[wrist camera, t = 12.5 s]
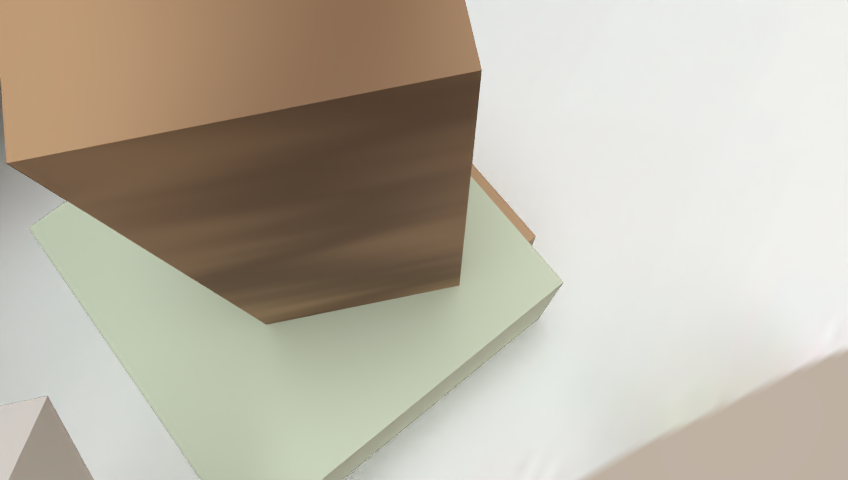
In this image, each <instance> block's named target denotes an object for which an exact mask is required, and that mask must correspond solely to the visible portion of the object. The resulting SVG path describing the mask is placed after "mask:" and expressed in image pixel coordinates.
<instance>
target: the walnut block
mask: <svg viewBox="0 0 848 480" xmlns="http://www.w3.org/2000/svg"><path fill="white" fill-rule="evenodd" d="M481 71H482V70H481V66H480V61H479V57H478V53H477V49H476V45H475V41H474V36H473V32H472V28H471V24H470V20H469V16H468V11H467V7H466V3H465V0H0V81H1V95H2V110H3V124H4V138H5V152H6V163H7V164H8V165H10V166H11V167H13V168H15V169H16V170H18V171H20V172H21V173H23V174H24V175H26V176H28V177H29V178H31V179H32V180H34V181H36V182H37V183H39V184H40V185H42V186H44V187H45V188H47V189H49V190H50V191H52V192H53V193H55V194H57V195H58V196H60V197H61V198H63V199H65V200H66V201H68V202H69V203H71V204H73V205H74V206H76V207H77V208H79V209H81V210H82V211H84V212H86V213H87V214H89V215H90V216H92V217H94V218H95V219H97V220H98V221H100V222H102V223H103V224H105V225H106V226H108V227H110V228H111V229H113V230H115V231H116V232H118V233H119V234H121V235H123V236H124V237H126V238H127V239H129V240H131V241H132V242H134V243H135V244H137V245H139V246H140V247H142V248H143V249H145V250H147V251H148V252H150V253H152V254H153V255H155V256H156V257H158V258H160V259H161V260H163V261H164V262H166V263H168V264H169V265H171V266H172V267H174V268H176V269H177V270H179V271H181V272H182V273H184V274H185V275H187V276H189V277H190V278H192V279H193V280H195V281H197V282H198V283H200V284H201V285H203V286H205V287H206V288H208V289H210V290H211V291H213V292H214V293H216V294H218V295H219V296H221V297H222V298H224V299H226V300H227V301H229V302H230V303H232V304H234V305H235V306H237V307H238V308H240V309H242V310H243V311H245V312H247V313H248V314H250V315H251V316H253V317H255V318H256V319H258V320H259V321H261V322H263V323H264V324H266V325H267V324H272V323H277V322H282V321H287V320H292V319H297V318H302V317H307V316H312V315H316V314H321V313H326V312H331V311H336V310H341V309H346V308H351V307H356V306H361V305H366V304H371V303H376V302H381V301H386V300H391V299H395V298H400V297H405V296H410V295H415V294H420V293H425V292H430V291H435V290H440V289H445V288H450V287H455V286H459V284H460V274H461V265H462V255H463V245H464V236H465V226H466V216H467V207H468V197H469V187H470V178H471V168H472V158H473V149H474V139H475V129H476V120H477V110H478V100H479V91H480V81H481Z"/></svg>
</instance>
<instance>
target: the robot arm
mask: <svg viewBox="0 0 848 480" xmlns="http://www.w3.org/2000/svg"><path fill="white" fill-rule="evenodd" d="M0 480H94V479H93V478H92V476H91V474H90V472H89V470H88V469H87V467H86V465H85V463H84V461H83V459H82V458H81V456H80V454H79V452H78V450H77V448H76V447H75V445H74V443H73V441H72V439H71V438H70V436H69V434H68V432H67V430H66V428H65V427H64V425H63V423H62V421H61V419H60V417H59V416H58V414H57V412H56V410H55V408H54V407H53V405H52V403H51V401H50V399H49V397H48V396H44V397H40V398H35V399H30V400H26V401H21V402H16V403H12V404H7V405H2V406H0Z"/></svg>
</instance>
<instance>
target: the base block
mask: <svg viewBox="0 0 848 480" xmlns="http://www.w3.org/2000/svg"><path fill="white" fill-rule="evenodd" d="M29 230H30V231H31V233H32V234H33V235H34V237H35V238H36V240H37V241H38V243H39V244H40V246H41V247H42V249H43V250H44V252H45V253H46V254H47V256H48V257H49V259H50V260H51V262H52V263H53V265H54V266H55V268H56V269H57V271H58V272H59V273H60V275H61V276H62V278H63V279H64V281H65V282H66V284H67V285H68V287H69V288H70V290H71V291H72V292H73V294H74V295H75V297H76V298H77V300H78V301H79V303H80V304H81V306H82V307H83V309H84V310H85V311H86V313H87V314H88V316H89V317H90V319H91V320H92V322H93V323H94V325H95V326H96V328H97V329H98V330H99V332H100V333H101V335H102V336H103V338H104V339H105V341H106V342H107V344H108V345H109V347H110V348H111V349H112V351H113V352H114V354H115V355H116V357H117V358H118V360H119V361H120V363H121V364H122V366H123V367H124V368H125V370H126V371H127V373H128V374H129V376H130V377H131V379H132V380H133V382H134V383H135V385H136V386H137V387H138V389H139V390H140V392H141V393H142V395H143V396H144V398H145V399H146V401H147V402H148V404H149V405H150V406H151V408H152V409H153V411H154V412H155V414H156V415H157V417H158V418H159V420H160V421H161V423H162V424H163V425H164V427H165V428H166V430H167V431H168V433H169V434H170V436H171V437H172V439H173V440H174V441H175V443H176V444H177V446H178V447H179V449H180V450H181V452H182V453H183V455H184V456H185V458H186V459H187V460H188V462H189V463H190V465H191V466H192V468H193V469H194V471H195V472H196V474H197V475H198V477H199V478H200V479H201V480H342V479H343V478H345V477H346V476H347V475H348V474H349V473H351V472H352V471H353V470H354V469H356V468H357V467H358V466H359V465H360V464H362V463H363V462H364V461H365V460H367V459H368V458H369V457H370V456H371V455H373V454H374V453H375V452H376V451H378V450H379V449H380V448H381V447H382V446H384V445H385V444H386V443H387V442H388V441H390V440H391V439H392V438H393V437H395V436H396V435H397V434H398V433H399V432H401V431H402V430H403V429H404V428H406V427H407V426H408V425H409V424H410V423H412V422H413V421H414V420H415V419H417V418H418V417H419V416H420V415H421V414H423V413H424V412H425V411H426V410H427V409H429V408H430V407H431V406H432V405H434V404H435V403H436V402H437V401H438V400H440V399H441V398H442V397H443V396H445V395H446V394H447V393H448V392H449V391H451V390H452V389H453V388H454V387H456V386H457V385H458V384H459V383H460V382H462V381H463V380H464V379H465V378H467V377H468V376H469V375H470V374H471V373H473V372H474V371H475V370H476V369H477V368H479V367H480V366H481V365H482V364H484V363H485V362H486V361H487V360H488V359H490V358H491V357H492V356H493V355H495V354H496V353H497V352H498V351H499V350H501V349H502V348H503V347H504V346H506V345H507V344H508V343H509V342H510V341H512V340H513V339H514V338H515V337H517V336H518V335H519V334H520V333H521V332H523V331H524V330H525V329H526V328H527V327H529V326H530V325H531V324H532V323H534V322H535V321H536V320H537V319H538V318H539V317H540V316H541V314H542V313H543V311H544V310H545V308H546V307H547V306H548V304H549V303H550V301H551V300H552V298H553V297H554V295H555V294H556V292H557V291H558V289H559V288H560V286H561V285H562V283H563V281H562V280H561V279H560V278H559V276H558V275H557V274H556V273H555V272H554V271H553V270H552V268H551V267H550V266H549V265H548V264H547V263H546V262H545V260H544V259H543V258H542V257H541V256H540V255H539V253H538V252H537V251H536V250H535V249H534V248H533V247H532V244H533V242H534V239H535V235H534V234H533V233H532V231H531V230H530V229H529V228H528V227H527V226H526V225H525V223H524V222H523V221H522V220H521V219H520V218H519V217H518V216H517V214H516V213H515V212H514V211H513V210H512V209H511V208H510V206H509V205H508V204H507V203H506V202H505V201H504V200H503V198H502V197H501V196H500V195H499V194H498V193H497V192H496V190H495V189H494V188H493V187H492V186H491V185H490V184H489V182H488V181H487V180H486V179H485V178H484V177H483V176H482V174H481V173H480V172H479V171H478V170H477V169H476V168H475V166H474V165H473V164H472V168H471V178H470V187H469V197H468V207H467V216H466V226H465V236H464V245H463V255H462V265H461V274H460V284H459V286H455V287H450V288H445V289H440V290H435V291H430V292H425V293H420V294H415V295H410V296H405V297H400V298H395V299H391V300H386V301H381V302H376V303H371V304H366V305H361V306H356V307H351V308H346V309H341V310H336V311H331V312H326V313H321V314H316V315H312V316H307V317H302V318H297V319H292V320H287V321H282V322H277V323H272V324H267V325H266V324H264V323H263V322H261V321H259V320H258V319H256V318H255V317H253V316H251V315H250V314H248V313H247V312H245V311H243V310H242V309H240V308H238V307H237V306H235V305H234V304H232V303H230V302H229V301H227V300H226V299H224V298H222V297H221V296H219V295H218V294H216V293H214V292H213V291H211V290H210V289H208V288H206V287H205V286H203V285H201V284H200V283H198V282H197V281H195V280H193V279H192V278H190V277H189V276H187V275H185V274H184V273H182V272H181V271H179V270H177V269H176V268H174V267H172V266H171V265H169V264H168V263H166V262H164V261H163V260H161V259H160V258H158V257H156V256H155V255H153V254H152V253H150V252H148V251H147V250H145V249H143V248H142V247H140V246H139V245H137V244H135V243H134V242H132V241H131V240H129V239H127V238H126V237H124V236H123V235H121V234H119V233H118V232H116V231H115V230H113V229H111V228H110V227H108V226H106V225H105V224H103V223H102V222H100V221H98V220H97V219H95V218H94V217H92V216H90V215H89V214H87V213H86V212H84V211H82V210H81V209H79V208H77V207H76V206H74V205H73V204H71V203H69V202H68V201H66V202H64V203H63V204H61V205H60V206H59V207H57V208H56V209H54V210H53V211H52V212H50V213H49V214H47V215H46V216H45V217H43V218H42V219H40V220H39V221H38V222H36V223H35V224H33V225H32V226H31V227H29Z"/></svg>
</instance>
